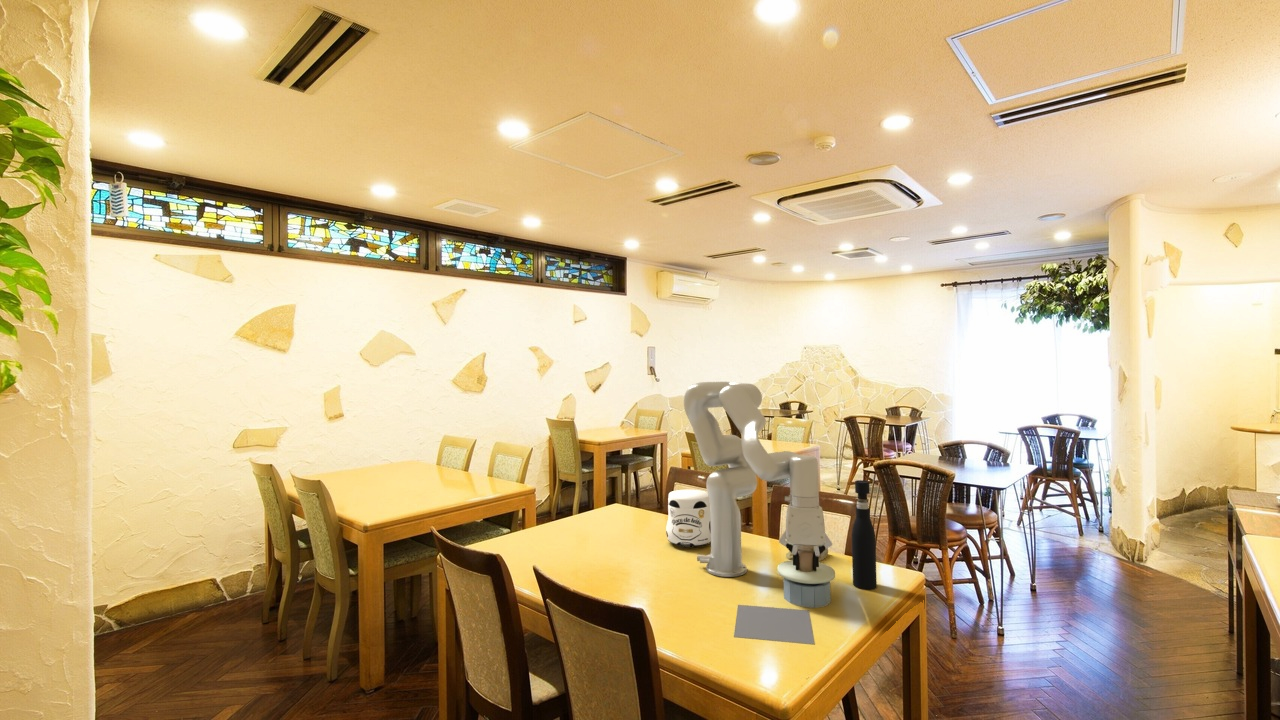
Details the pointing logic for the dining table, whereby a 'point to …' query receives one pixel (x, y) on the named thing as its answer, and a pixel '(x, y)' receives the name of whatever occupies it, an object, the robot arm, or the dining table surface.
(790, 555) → the ceramic model
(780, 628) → the mat
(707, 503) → the milk container
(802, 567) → the lid
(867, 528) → the black water bottle
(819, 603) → the bowl
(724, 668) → the dining table surface
